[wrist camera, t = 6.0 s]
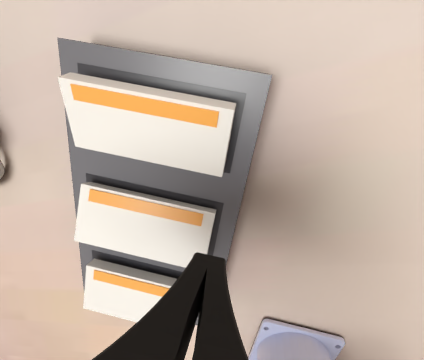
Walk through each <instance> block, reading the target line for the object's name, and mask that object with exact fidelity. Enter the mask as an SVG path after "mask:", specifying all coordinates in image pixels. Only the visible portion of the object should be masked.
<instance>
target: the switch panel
mask: <svg viewBox="0 0 424 360" xmlns="http://www.w3.org/2000/svg"><path fill="white" fill-rule="evenodd" d="M58 47H59V57H60V66H61V76H62V75H64V74H67V73H70V72H71V73H76V74H82V75H87V76H93V77H98V78H103V79H109V80H114V81H120V82H125V83H130V84H136V85H141V86H147V87H152V88H157V89H163V90H168V91H173V92H179V93H184V94H190V95H195V96H200V97H206V98H211V99H217V100H222V101H227V102H233V103H236V108H235V113H234V119H233V124H232V129H231V136H230V141H229V146H228V151H227V157H226V162H225V167H224V171H223V175H222V177H218V176H213V175H209V174H204V173H199V172H194V171H190V170H185V169H180V168H175V167H171V166H166V165H161V164H156V163H151V162H147V161H142V160H137V159H132V158H128V157H123V156H118V155H113V154H109V153H104V152H99V151H94V150H90V149H85V148H80V147H75V143H74V139H73V135H72V132H71V128H70V124H69V120H68V116H67V112H66V108H65V114H66V124H67V133H68V143H69V152H70V162H71V171H72V181H73V190H74V200H75V209H76V219H77V212H78V204H79V196H80V188H81V184H82V183H87V182H94V183H98V184H103V185H107V186H112V187H116V188H121V189H125V190H130V191H134V192H139V193H144V194H148V195H153V196H157V197H162V198H166V199H171V200H175V201H180V202H184V203H189V204H193V205H198V206H203V207H207V208H212V209H216V214H215V219H214V224H213V228H212V234H211V239H210V243H209V248H208V253H207V254H208V255H212V256H217V257H221V258H224V259H225V260H226V263H227V259H228V255H229V250H230V246H231V242H232V238H233V234H234V230H235V226H236V222H237V218H238V213H239V209H240V205H241V201H242V197H243V193H244V189H245V185H246V181H247V177H248V172H249V168H250V164H251V160H252V156H253V152H254V148H255V144H256V140H257V135H258V131H259V127H260V123H261V119H262V115H263V111H264V107H265V103H266V99H267V94H268V90H269V86H270V82H271V78H272V75H270V74H264V73H259V72H253V71H247V70H241V69H236V68H230V67H224V66H219V65H213V64H207V63H201V62H196V61H190V60H184V59H178V58H173V57H167V56H161V55H156V54H150V53H144V52H138V51H133V50H127V49H121V48H115V47H110V46H104V45H98V44H93V43H87V42H81V41H75V40H69V39H63V38H58ZM79 248H80V257H81V267H82V276H83V286H84V291H85V277H86V265H87V264H88V263H89V262H91V261H92V260H93V259H98V260H102V261H106V262H111V263H115V264H119V265H123V266H127V267H131V268H135V269H139V270H143V271H147V272H151V273H155V274H159V275H163V276H168V277H172V278H176V279H178V278H179V276H180V275H181V274H182V272H183V271H184V270H185V267H181V266H176V265H172V264H168V263H164V262H160V261H156V260H152V259H147V258H143V257H139V256H135V255H131V254H127V253H123V252H118V251H114V250H110V249H106V248H102V247H98V246H94V245H89V244H85V243H81V242H79ZM198 318H199V314H198V317H197V320H196V324H195V325H198Z"/></svg>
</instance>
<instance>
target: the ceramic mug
mask: <svg viewBox="0 0 424 360" xmlns="http://www.w3.org/2000/svg"><path fill="white" fill-rule="evenodd" d="M4 172H5V170H4V166H3V164H2V162H1V160H0V179H1V178H2V176H3V175H4Z"/></svg>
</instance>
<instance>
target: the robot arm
mask: <svg viewBox="0 0 424 360" xmlns="http://www.w3.org/2000/svg"><path fill="white" fill-rule="evenodd" d="M198 314H199V318H198V326H197V333H196V341H195V348H194V354H193V358H192V360H335V359H336V357H337V356H338V354H339V353H340V351H341V350H342V348H343V347H344V345H345V341H344V339H343V338H342V337H339V336H335V335H331V334H327V333H323V332H319V331H315V330H311V329H307V328H303V327H299V326H295V325H291V324H287V323H283V322H279V321H275V320H271V319H264V320H263V321H262V323H261V326H260V328H259V331H258V333H257V336H256V339H255V341H254V344H253V346H252V349H251V352H250V354H249V357H247V354H246V351H245V348H244V346H243V343H242V340H241V337H240V334H239V330H238V327H237V323H236V320H235V316H234V313H233V308H232V304H231V300H230V295H229V290H228V284H227V277H226V260H225V259H224V258H221V257H217V256H212V255H208V254H203V253H199V252H197V253H195V254H194V255H193V257H192V259H191V261H190V262H189V264H188V265H187V267H186V268H185V270H184V271H183V272H182V274H181V275H180V276H179V278H178V279H177V280H176V281H175V283H174V284H173V285H172V286H171V288H170V289H169V290H168V291H167V292H166V293H165V294H164V295H163V297H162V298H161V299H160V300H159V301H158V302H157V303H156V304H155V305H154V306H153V307H152V308H151V309H150V310H149V311H148V312H147V313H146V314H145V315H144V316H143V317H142V318H141V319H140V320H139V321H138V322H137V323H136V324H135V325H134V326H133V327H131V328H130V329H129V330H128V331H127V332H126V333H125V334H124V335H122V336H121V337H120V338H119V339H118V340H116V341H115V342H114V343H113V344H112V345H110V346H109V347H108V348H106V349H105V350H104V351H103V352H101V353H100V354H99V355H97V356H96V357H95V358H93V359H92V360H184V358H185V355H186V352H187V349H188V346H189V342H190V339H191V336H192V333H193V330H194V327H195V324H196V320H197V317H198Z"/></svg>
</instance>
